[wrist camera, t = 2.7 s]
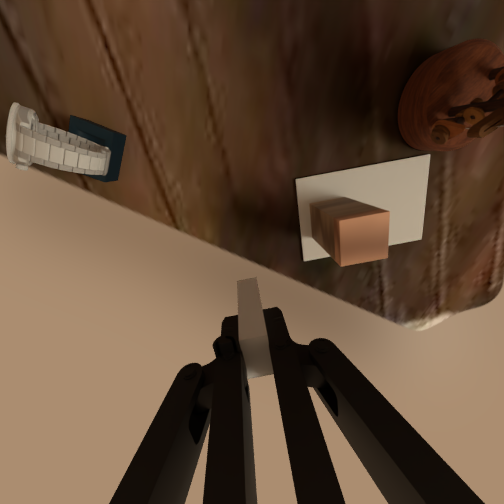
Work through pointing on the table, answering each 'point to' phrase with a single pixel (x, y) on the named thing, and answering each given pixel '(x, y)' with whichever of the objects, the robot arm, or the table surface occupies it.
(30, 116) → the watch
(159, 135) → the table surface
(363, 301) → the table surface
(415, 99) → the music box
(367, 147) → the table surface
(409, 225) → the mat
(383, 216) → the walnut block
